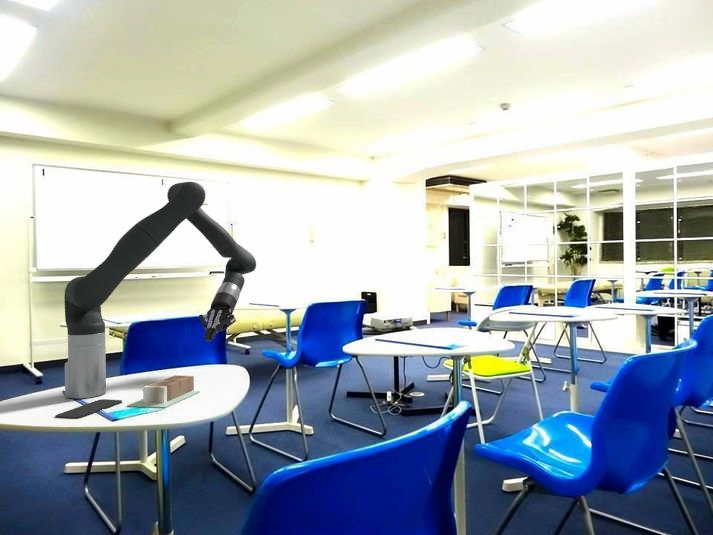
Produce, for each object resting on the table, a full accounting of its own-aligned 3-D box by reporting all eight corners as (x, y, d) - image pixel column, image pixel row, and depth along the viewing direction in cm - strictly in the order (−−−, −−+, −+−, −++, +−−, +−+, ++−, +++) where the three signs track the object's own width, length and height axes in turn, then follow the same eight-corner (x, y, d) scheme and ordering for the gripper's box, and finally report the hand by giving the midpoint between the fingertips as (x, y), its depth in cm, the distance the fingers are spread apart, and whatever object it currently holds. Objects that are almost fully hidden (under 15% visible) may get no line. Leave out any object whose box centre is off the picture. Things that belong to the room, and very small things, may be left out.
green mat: (127, 406, 122) (127, 405, 122) (165, 391, 138) (165, 389, 138) (165, 408, 120) (165, 406, 120) (199, 392, 136) (199, 391, 136)
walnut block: (174, 389, 138) (143, 402, 125) (174, 375, 138) (143, 386, 125) (193, 390, 137) (164, 403, 123) (193, 376, 137) (163, 387, 123)
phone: (52, 415, 114) (100, 399, 128) (52, 419, 114) (100, 402, 128) (78, 417, 112) (124, 400, 127) (78, 421, 112) (124, 403, 127)
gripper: (204, 291, 162) (183, 332, 150) (240, 291, 159) (222, 332, 147) (212, 306, 167) (193, 347, 155) (247, 306, 164) (231, 347, 152)
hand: (207, 340), depth 151 cm, fingers closed
